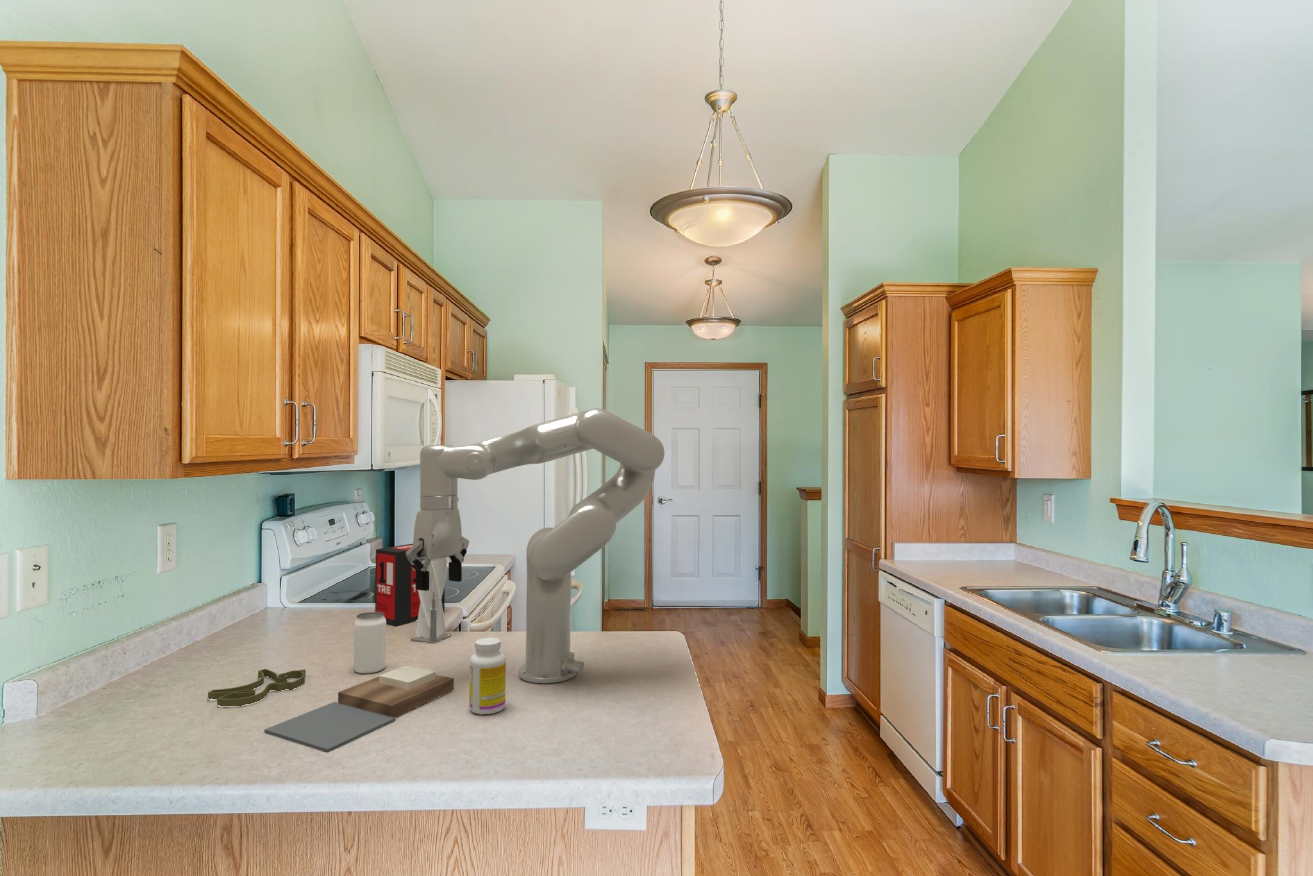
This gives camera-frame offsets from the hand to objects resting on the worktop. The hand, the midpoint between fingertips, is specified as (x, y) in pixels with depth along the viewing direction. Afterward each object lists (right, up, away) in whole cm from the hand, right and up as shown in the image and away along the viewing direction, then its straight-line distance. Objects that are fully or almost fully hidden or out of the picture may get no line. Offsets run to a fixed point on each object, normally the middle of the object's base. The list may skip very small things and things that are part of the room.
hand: (439, 585), depth 144 cm
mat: (-12, -20, -23) cm, 33 cm away
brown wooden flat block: (-5, -20, -10) cm, 23 cm away
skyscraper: (-12, -20, +30) cm, 38 cm away
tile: (-4, -18, -8) cm, 19 cm away
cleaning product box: (-24, -20, +49) cm, 58 cm away
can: (-17, -20, +6) cm, 27 cm away
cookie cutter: (-34, -20, -7) cm, 40 cm away
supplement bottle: (+14, -20, -15) cm, 29 cm away
